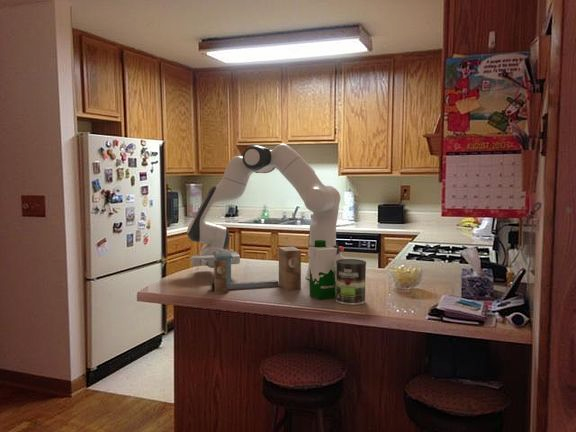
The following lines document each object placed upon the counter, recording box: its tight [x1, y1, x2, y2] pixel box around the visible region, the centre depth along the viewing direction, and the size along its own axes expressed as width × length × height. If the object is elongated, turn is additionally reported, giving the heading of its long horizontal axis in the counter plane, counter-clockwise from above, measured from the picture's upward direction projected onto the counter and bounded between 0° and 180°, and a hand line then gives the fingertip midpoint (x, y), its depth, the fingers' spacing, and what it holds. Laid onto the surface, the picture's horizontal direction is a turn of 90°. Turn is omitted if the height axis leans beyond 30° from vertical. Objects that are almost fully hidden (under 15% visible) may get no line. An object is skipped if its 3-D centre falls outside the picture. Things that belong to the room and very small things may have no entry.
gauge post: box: [213, 260, 228, 295], centre depth 182 cm, size 4×4×12 cm
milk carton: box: [308, 240, 337, 300], centre depth 177 cm, size 9×9×20 cm
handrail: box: [210, 279, 279, 292], centre depth 191 cm, size 26×4×3 cm, turn 107°
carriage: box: [214, 253, 233, 285], centre depth 188 cm, size 6×6×11 cm
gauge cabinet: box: [278, 246, 302, 291], centre depth 192 cm, size 6×11×15 cm, turn 17°
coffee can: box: [335, 258, 367, 306], centre depth 171 cm, size 10×10×14 cm
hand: (218, 263), depth 199 cm, fingers open, 8 cm apart
